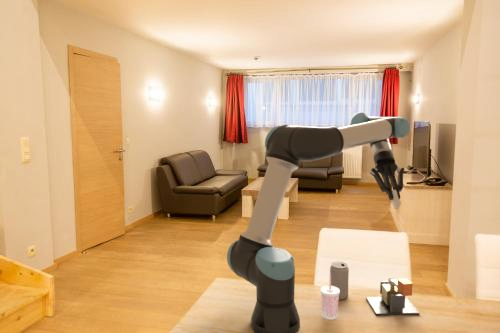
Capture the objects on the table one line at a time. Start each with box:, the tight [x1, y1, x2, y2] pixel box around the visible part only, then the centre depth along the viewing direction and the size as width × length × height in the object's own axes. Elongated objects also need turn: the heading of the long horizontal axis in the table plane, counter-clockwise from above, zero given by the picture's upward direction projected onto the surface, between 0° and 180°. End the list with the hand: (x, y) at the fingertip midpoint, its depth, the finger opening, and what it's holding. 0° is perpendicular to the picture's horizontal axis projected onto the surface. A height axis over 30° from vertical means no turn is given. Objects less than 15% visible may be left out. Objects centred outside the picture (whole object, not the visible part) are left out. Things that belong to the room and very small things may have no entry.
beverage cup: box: [320, 274, 340, 321], centre depth 124 cm, size 6×6×14 cm
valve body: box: [365, 280, 421, 317], centre depth 129 cm, size 14×11×8 cm
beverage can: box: [329, 261, 350, 301], centre depth 137 cm, size 6×6×12 cm
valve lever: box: [387, 277, 414, 297], centre depth 125 cm, size 10×3×4 cm, turn 9°
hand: (397, 206), depth 139 cm, fingers closed
